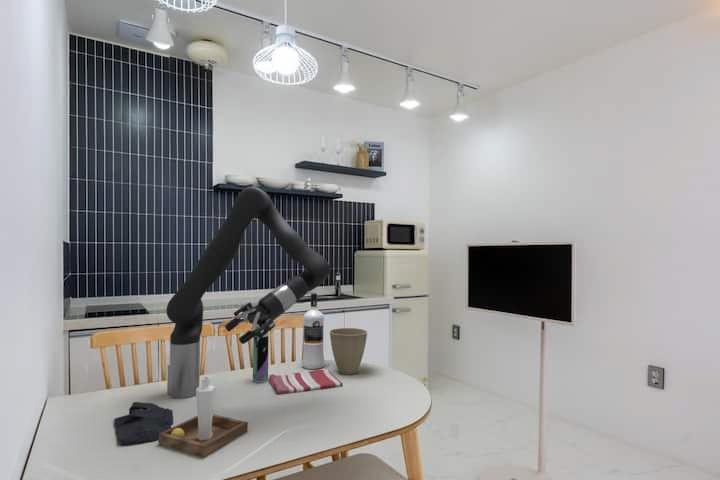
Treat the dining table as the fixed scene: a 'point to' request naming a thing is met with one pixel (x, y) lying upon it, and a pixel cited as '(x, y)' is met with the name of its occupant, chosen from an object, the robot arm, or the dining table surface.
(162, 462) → the dining table surface
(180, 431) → the ball
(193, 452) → the tray
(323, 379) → the dish towel
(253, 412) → the dining table surface
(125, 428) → the dark folded fabric bundle
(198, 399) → the white faceted vase
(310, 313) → the vodka
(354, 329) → the plant pot
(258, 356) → the spray can
